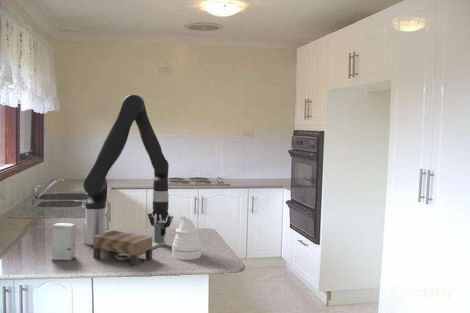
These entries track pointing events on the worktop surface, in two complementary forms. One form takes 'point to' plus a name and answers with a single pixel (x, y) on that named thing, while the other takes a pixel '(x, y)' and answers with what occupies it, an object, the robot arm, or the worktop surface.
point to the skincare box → (63, 241)
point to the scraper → (157, 237)
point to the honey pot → (186, 241)
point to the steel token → (122, 256)
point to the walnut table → (123, 244)
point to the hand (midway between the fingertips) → (160, 235)
